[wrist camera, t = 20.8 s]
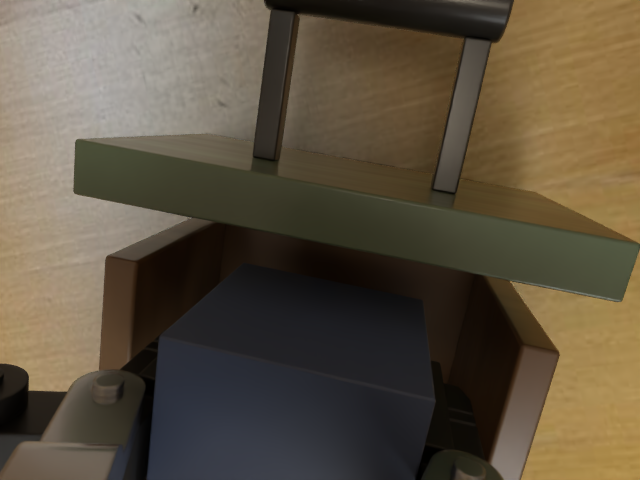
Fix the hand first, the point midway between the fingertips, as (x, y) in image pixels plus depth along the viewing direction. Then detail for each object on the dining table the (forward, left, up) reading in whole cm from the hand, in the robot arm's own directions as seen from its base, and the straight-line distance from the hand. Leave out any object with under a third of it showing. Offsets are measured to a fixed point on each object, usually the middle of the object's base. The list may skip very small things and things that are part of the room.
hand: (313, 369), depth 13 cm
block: (0, 0, 0) cm, 0 cm away
